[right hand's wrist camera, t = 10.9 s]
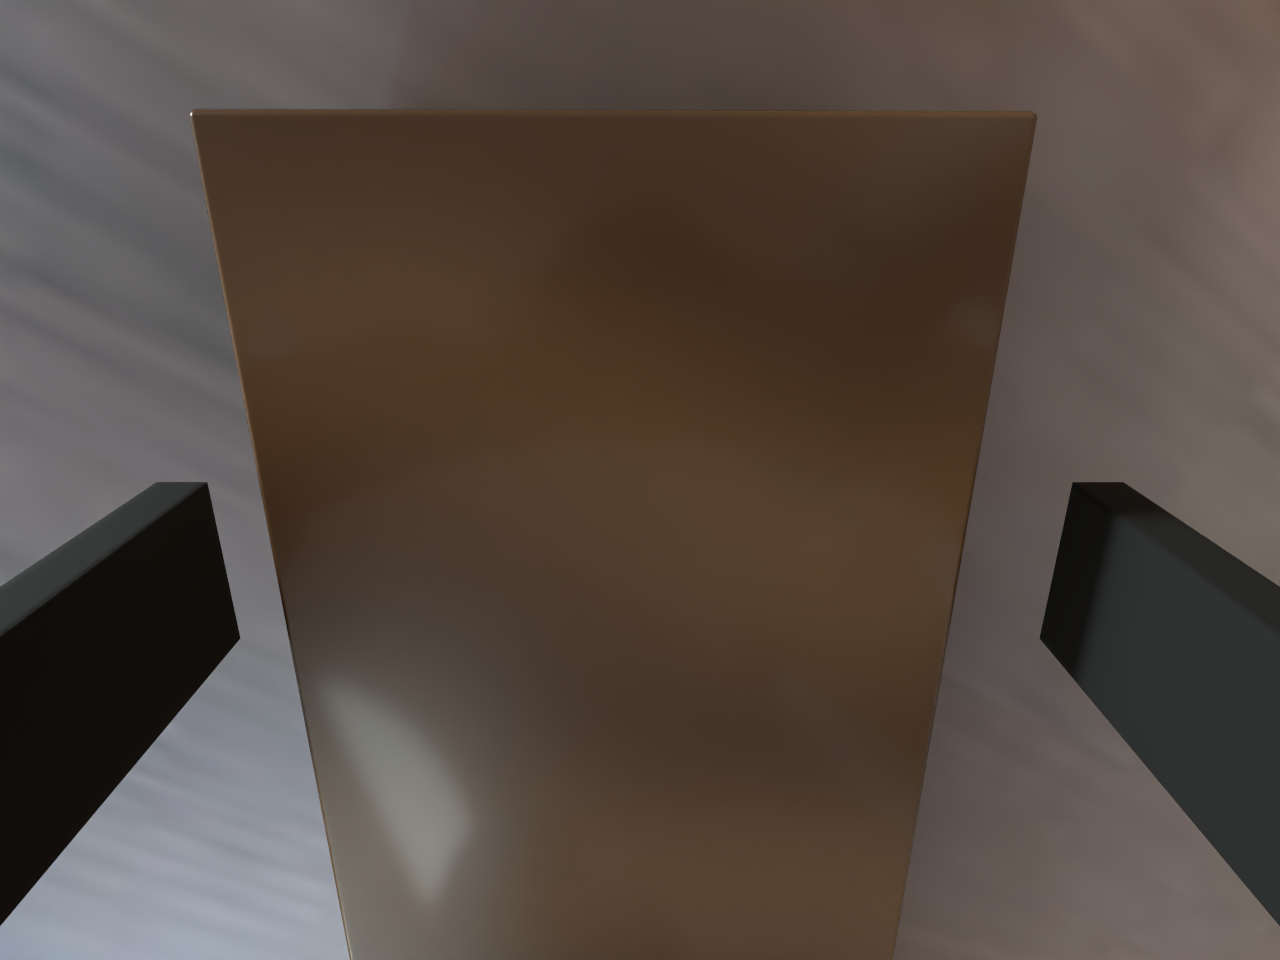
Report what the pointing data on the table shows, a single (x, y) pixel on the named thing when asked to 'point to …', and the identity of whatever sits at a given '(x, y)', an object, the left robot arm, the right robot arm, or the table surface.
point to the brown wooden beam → (616, 503)
